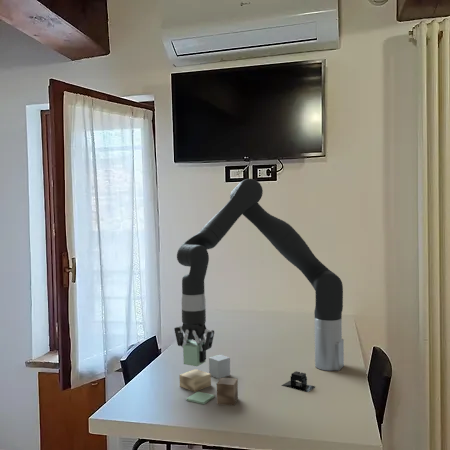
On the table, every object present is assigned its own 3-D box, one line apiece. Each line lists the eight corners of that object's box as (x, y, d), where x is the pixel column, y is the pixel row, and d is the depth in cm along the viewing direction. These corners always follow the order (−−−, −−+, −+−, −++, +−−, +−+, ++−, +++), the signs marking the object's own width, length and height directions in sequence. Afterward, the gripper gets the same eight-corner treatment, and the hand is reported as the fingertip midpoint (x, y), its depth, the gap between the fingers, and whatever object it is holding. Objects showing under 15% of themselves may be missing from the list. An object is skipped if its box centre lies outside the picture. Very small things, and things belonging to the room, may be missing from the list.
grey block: (230, 375, 165) (229, 357, 165) (218, 378, 162) (218, 360, 161) (220, 371, 169) (220, 354, 168) (209, 375, 165) (208, 357, 165)
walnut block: (237, 398, 145) (237, 378, 145) (234, 405, 140) (233, 384, 140) (221, 397, 146) (221, 377, 146) (217, 404, 141) (216, 383, 141)
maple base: (211, 386, 156) (210, 373, 156) (194, 392, 151) (194, 379, 151) (195, 381, 161) (195, 369, 160) (179, 387, 156) (179, 374, 155)
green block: (205, 361, 156) (205, 343, 156) (197, 366, 152) (196, 347, 152) (192, 359, 159) (192, 341, 159) (183, 364, 155) (183, 345, 154)
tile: (214, 396, 146) (214, 394, 146) (204, 404, 141) (203, 402, 141) (197, 393, 149) (197, 391, 149) (186, 400, 144) (186, 398, 144)
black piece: (322, 388, 153) (321, 374, 153) (310, 396, 147) (310, 381, 147) (287, 380, 160) (287, 366, 160) (275, 387, 155) (275, 372, 155)
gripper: (219, 307, 154) (220, 360, 155) (181, 303, 162) (182, 354, 162) (206, 312, 148) (207, 367, 149) (168, 307, 155) (169, 361, 156)
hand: (194, 360), depth 155 cm, fingers closed on green block, 5 cm apart
